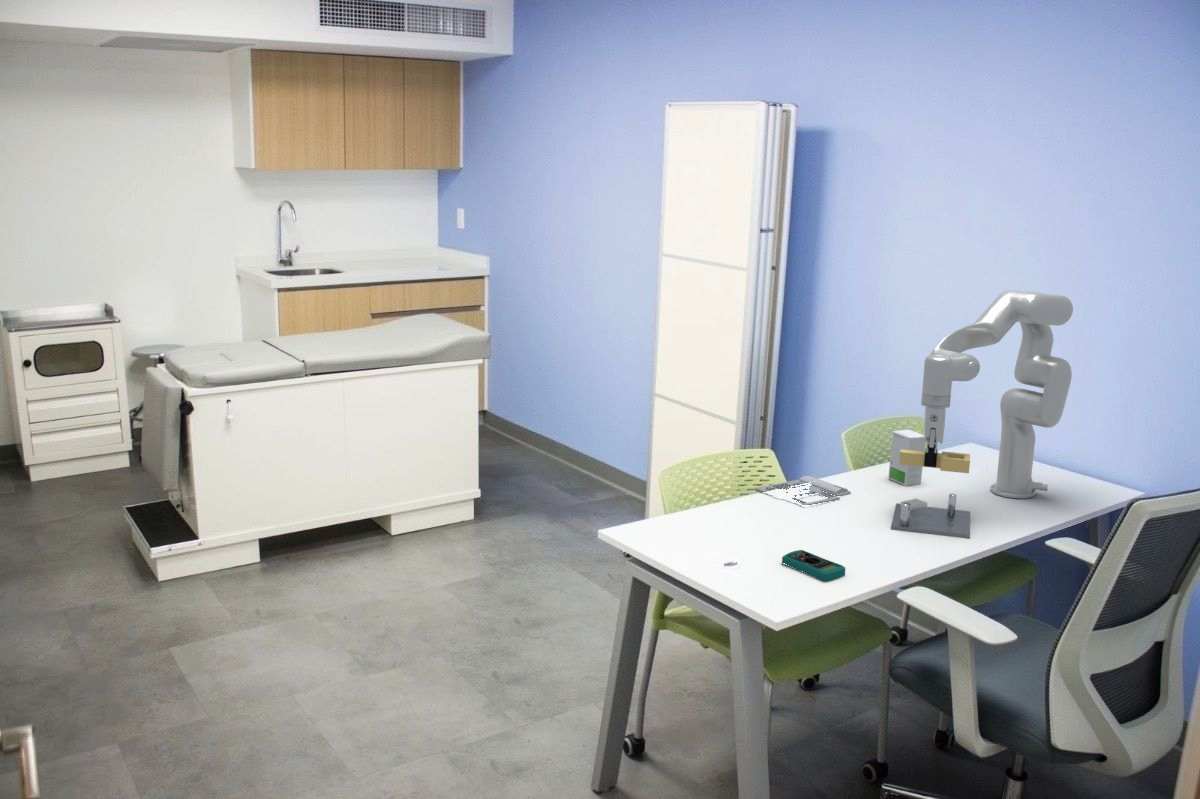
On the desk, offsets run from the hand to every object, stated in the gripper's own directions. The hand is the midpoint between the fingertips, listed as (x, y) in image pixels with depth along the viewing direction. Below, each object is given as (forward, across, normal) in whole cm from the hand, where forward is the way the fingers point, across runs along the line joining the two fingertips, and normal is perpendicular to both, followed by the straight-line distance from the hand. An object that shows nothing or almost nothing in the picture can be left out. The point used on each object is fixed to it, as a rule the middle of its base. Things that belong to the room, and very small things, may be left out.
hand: (930, 464), depth 290 cm
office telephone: (+16, +8, +34) cm, 39 cm away
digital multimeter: (+16, -52, +24) cm, 59 cm away
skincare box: (+15, +30, +7) cm, 34 cm away
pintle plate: (+15, -6, -2) cm, 16 cm away
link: (+1, 0, -1) cm, 1 cm away
